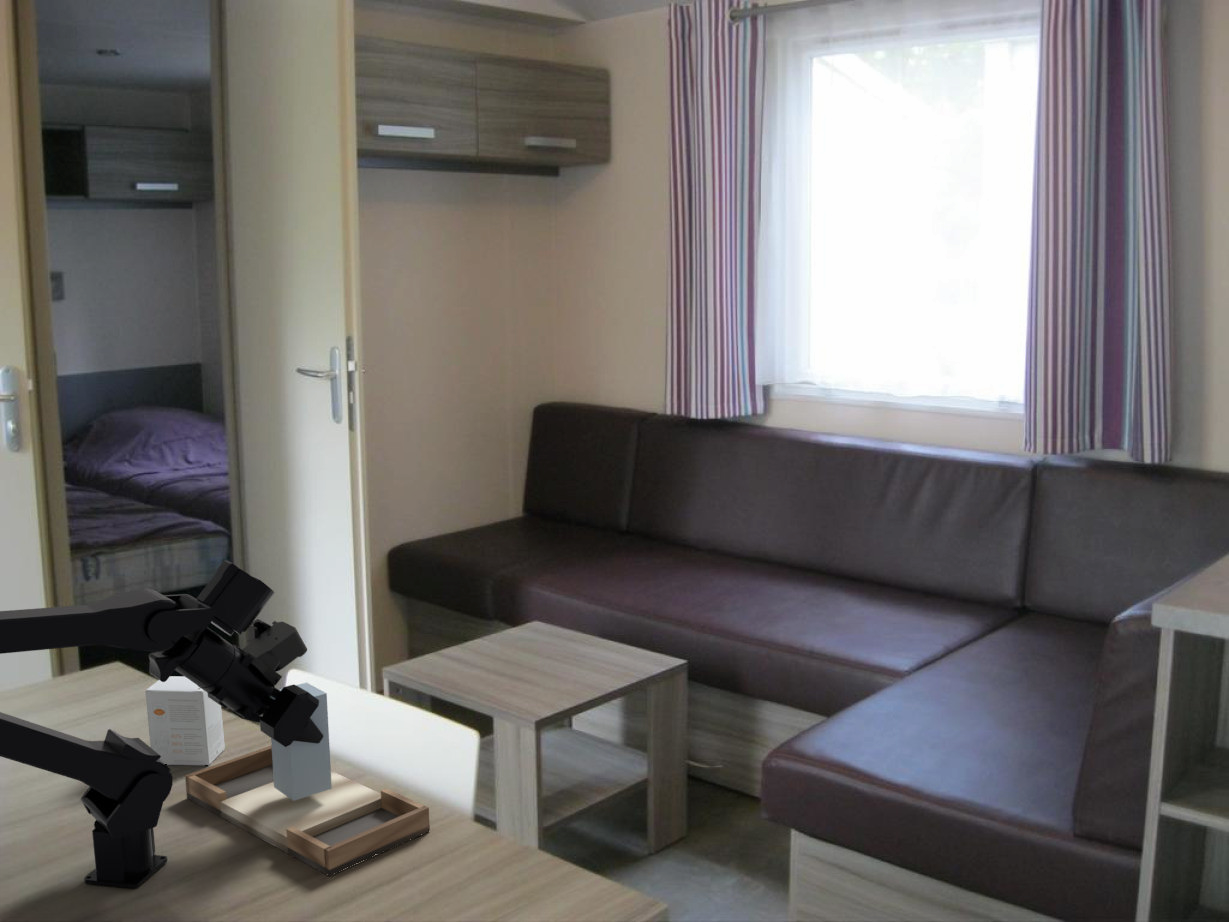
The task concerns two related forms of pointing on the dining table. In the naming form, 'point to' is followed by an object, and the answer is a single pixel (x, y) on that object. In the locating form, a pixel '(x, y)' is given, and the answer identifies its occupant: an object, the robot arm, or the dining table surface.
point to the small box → (184, 722)
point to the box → (308, 813)
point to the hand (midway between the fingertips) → (310, 733)
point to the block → (304, 757)
